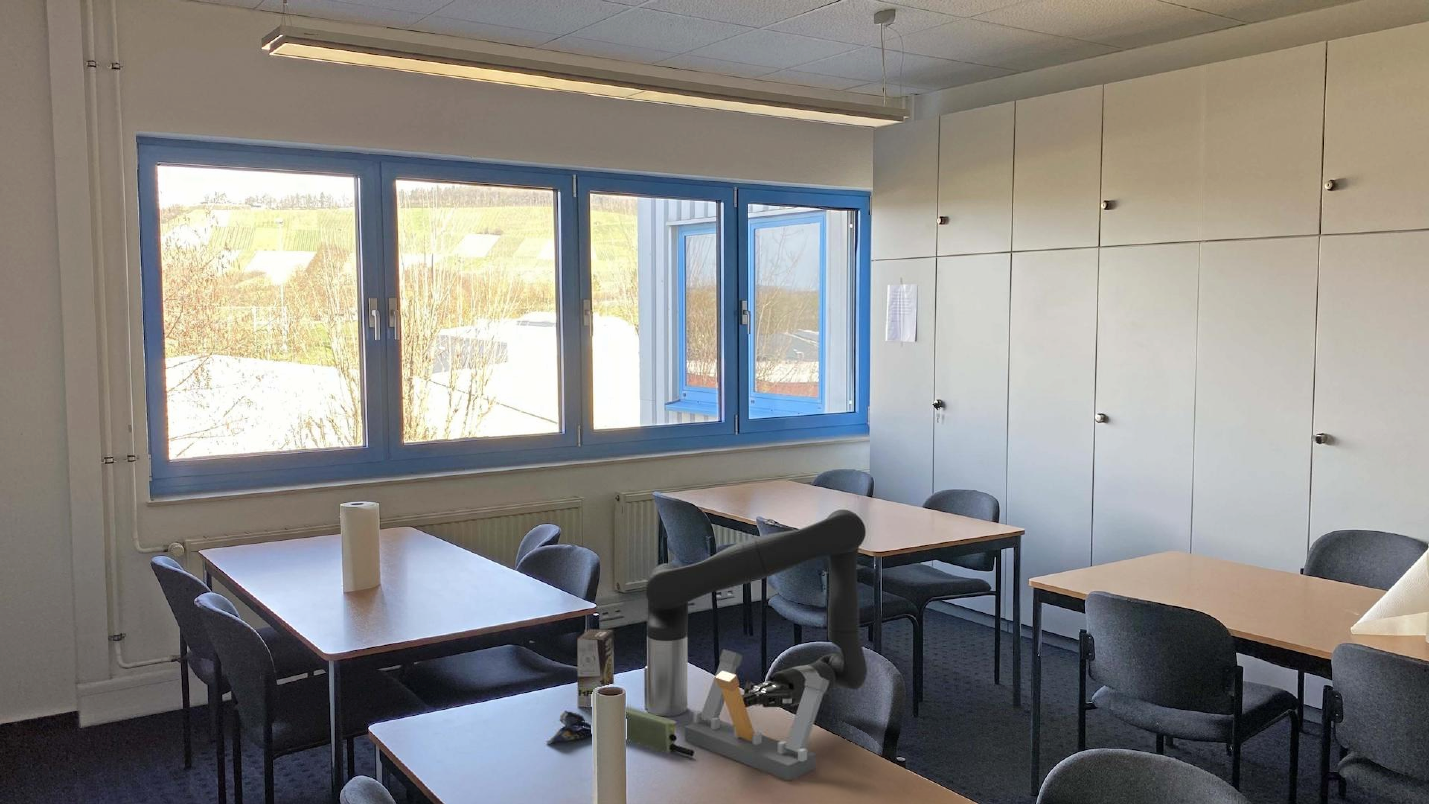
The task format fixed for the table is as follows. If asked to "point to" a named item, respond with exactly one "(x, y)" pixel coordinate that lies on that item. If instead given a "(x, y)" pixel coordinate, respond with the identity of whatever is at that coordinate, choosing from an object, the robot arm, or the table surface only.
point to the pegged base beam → (749, 748)
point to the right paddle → (806, 712)
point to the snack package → (571, 728)
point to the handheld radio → (653, 731)
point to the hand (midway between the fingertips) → (739, 702)
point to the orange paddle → (735, 704)
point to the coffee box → (594, 663)
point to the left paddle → (715, 694)
